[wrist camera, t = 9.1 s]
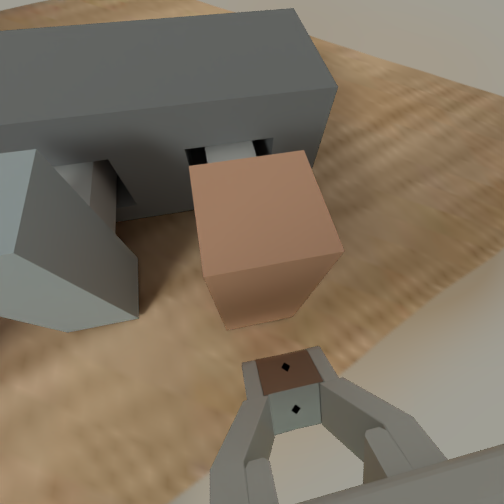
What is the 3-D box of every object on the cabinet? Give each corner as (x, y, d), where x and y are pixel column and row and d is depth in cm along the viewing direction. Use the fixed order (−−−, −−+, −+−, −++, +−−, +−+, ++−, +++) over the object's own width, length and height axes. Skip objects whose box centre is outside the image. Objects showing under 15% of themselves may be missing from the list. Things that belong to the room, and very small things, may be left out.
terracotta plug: (227, 330, 15) (203, 277, 7) (205, 195, 19) (175, 62, 11) (292, 316, 15) (344, 251, 7) (257, 187, 20) (265, 54, 11)
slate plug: (67, 332, 15) (-155, 279, 7) (81, 195, 19) (-44, 60, 11) (138, 318, 15) (13, 252, 7) (136, 187, 19) (57, 51, 11)
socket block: (26, 236, 18) (-127, 139, 10) (43, 152, 21) (-64, 35, 14) (304, 192, 20) (337, 86, 12) (278, 122, 23) (293, 8, 16)
